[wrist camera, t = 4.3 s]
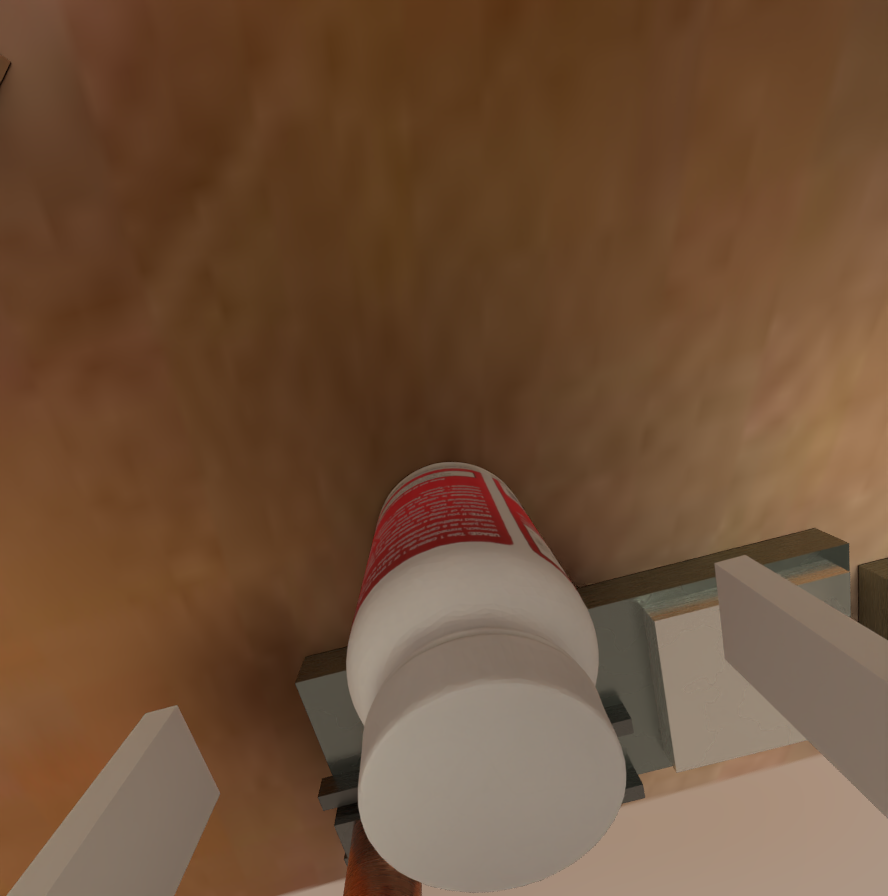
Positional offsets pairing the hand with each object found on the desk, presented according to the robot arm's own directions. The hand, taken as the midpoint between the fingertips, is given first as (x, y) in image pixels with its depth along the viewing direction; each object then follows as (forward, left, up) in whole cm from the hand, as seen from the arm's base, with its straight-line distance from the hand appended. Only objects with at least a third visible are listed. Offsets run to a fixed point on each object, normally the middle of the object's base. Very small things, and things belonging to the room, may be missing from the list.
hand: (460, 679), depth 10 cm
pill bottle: (0, 0, -8) cm, 8 cm away
